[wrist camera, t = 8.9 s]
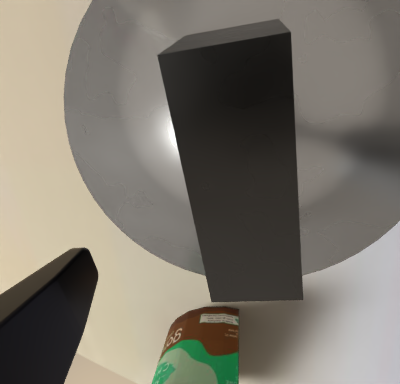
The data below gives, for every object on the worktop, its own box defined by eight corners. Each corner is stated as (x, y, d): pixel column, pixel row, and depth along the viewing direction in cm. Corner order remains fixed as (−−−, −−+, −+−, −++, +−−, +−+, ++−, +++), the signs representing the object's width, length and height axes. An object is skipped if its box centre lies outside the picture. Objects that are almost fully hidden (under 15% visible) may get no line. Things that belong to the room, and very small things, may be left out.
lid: (475, -145, 9) (679, -266, 5) (414, 256, 16) (476, 359, 12) (21, -34, 12) (-113, -47, 8) (129, 270, 19) (91, 357, 14)
